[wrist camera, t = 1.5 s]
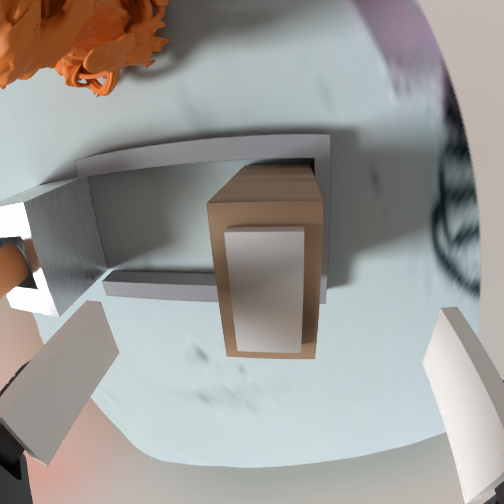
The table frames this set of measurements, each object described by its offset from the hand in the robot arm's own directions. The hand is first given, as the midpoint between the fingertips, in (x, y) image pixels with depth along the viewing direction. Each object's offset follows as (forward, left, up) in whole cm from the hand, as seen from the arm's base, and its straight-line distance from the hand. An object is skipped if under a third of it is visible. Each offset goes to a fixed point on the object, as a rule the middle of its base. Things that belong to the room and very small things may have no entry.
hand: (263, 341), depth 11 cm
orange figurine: (-16, -11, -13) cm, 24 cm away
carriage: (0, 0, -13) cm, 13 cm away
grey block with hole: (0, -20, -13) cm, 24 cm away
